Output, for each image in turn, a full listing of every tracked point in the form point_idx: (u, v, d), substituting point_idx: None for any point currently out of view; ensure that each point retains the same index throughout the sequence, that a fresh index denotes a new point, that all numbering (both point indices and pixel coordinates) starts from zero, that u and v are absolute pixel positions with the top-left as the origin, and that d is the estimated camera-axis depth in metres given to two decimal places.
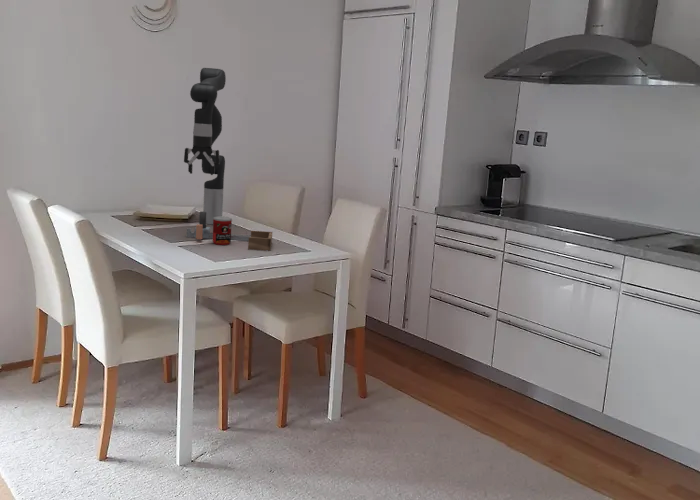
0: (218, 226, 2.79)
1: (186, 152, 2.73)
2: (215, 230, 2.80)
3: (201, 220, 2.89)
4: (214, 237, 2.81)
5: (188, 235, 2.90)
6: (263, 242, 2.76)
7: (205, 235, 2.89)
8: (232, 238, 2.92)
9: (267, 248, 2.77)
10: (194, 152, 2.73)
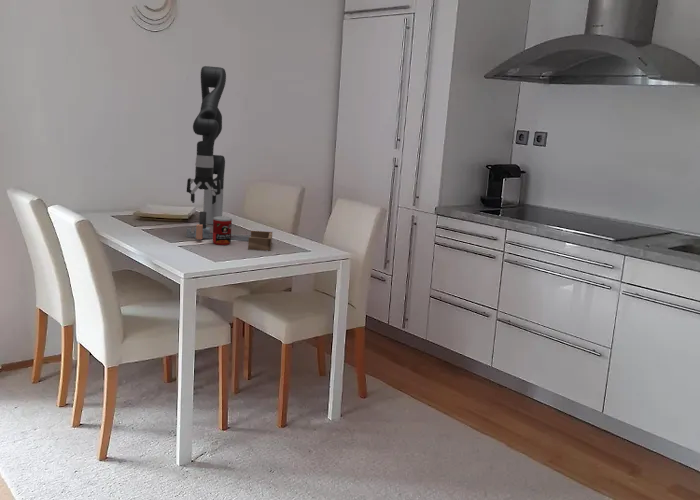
0: (218, 226, 2.79)
1: (189, 182, 2.85)
2: (215, 230, 2.80)
3: (201, 220, 2.89)
4: (214, 237, 2.81)
5: (188, 235, 2.90)
6: (263, 242, 2.76)
7: (205, 235, 2.89)
8: (232, 238, 2.92)
9: (267, 248, 2.77)
10: (196, 182, 2.85)
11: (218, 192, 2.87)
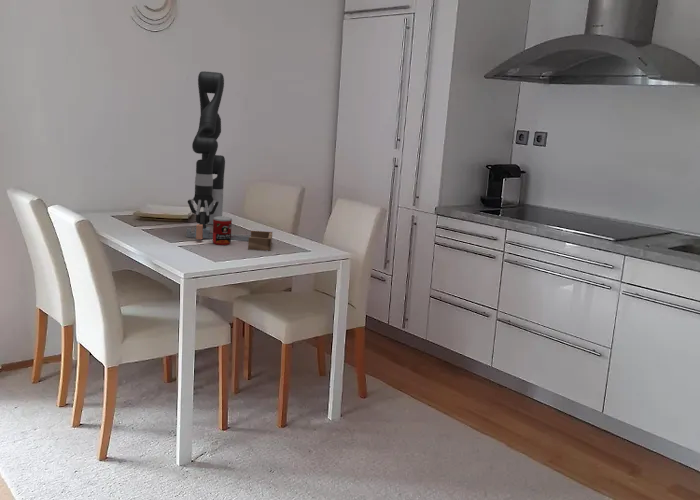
0: (218, 226, 2.79)
1: (190, 203, 2.87)
2: (215, 230, 2.80)
3: (201, 220, 2.89)
4: (214, 237, 2.81)
5: (188, 235, 2.90)
6: (263, 242, 2.76)
7: (205, 235, 2.89)
8: (232, 238, 2.92)
9: (267, 248, 2.77)
10: (196, 202, 2.87)
11: (212, 212, 2.89)
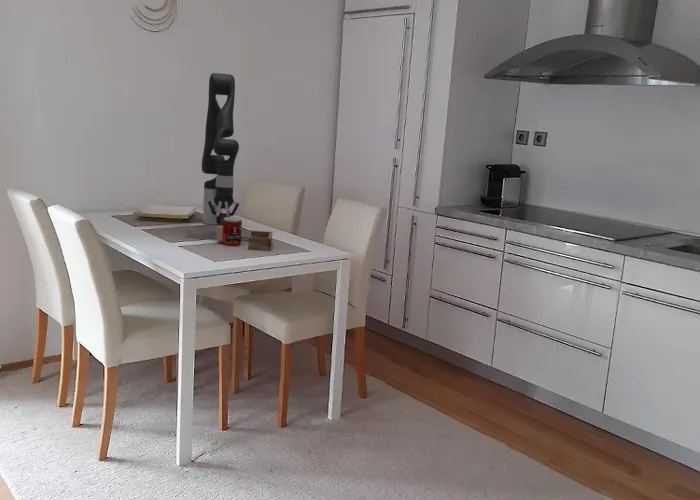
0: (228, 227, 2.79)
1: (210, 205, 2.88)
2: (225, 231, 2.80)
3: (221, 221, 2.90)
4: (224, 238, 2.81)
5: (188, 235, 2.90)
6: (263, 242, 2.76)
7: None
8: None
9: (267, 248, 2.77)
10: (217, 203, 2.88)
11: (232, 213, 2.89)
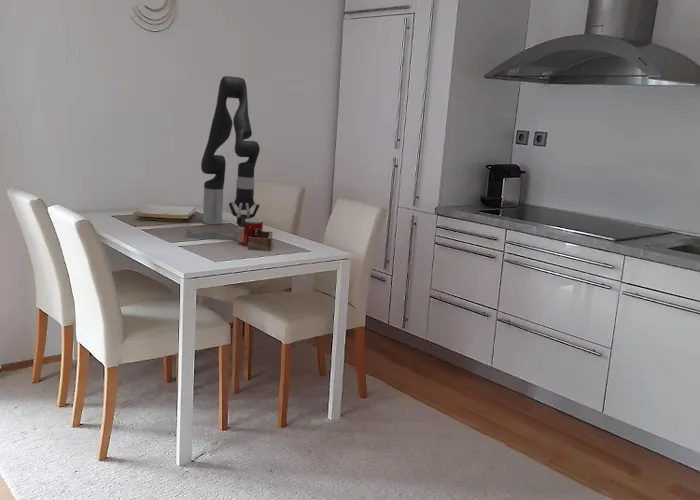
0: (249, 228, 2.80)
1: (231, 206, 2.89)
2: (246, 232, 2.81)
3: (242, 223, 2.90)
4: (245, 239, 2.82)
5: (188, 235, 2.90)
6: (263, 242, 2.76)
7: None
8: (232, 238, 2.92)
9: (267, 248, 2.77)
10: (237, 205, 2.89)
11: (253, 215, 2.90)
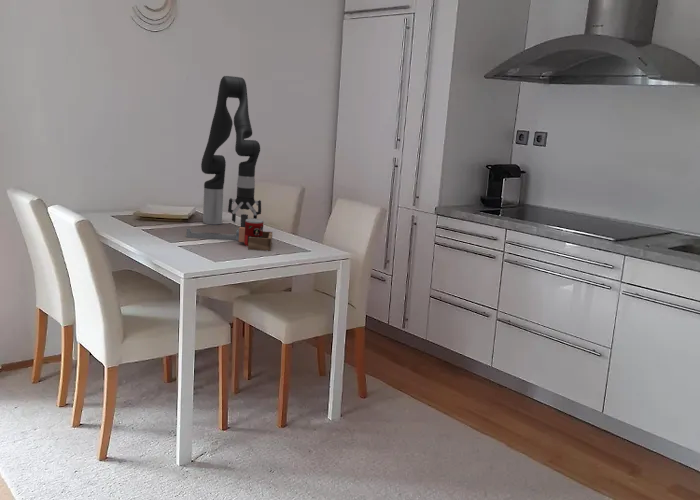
0: (250, 228, 2.80)
1: (230, 202, 2.88)
2: (247, 232, 2.81)
3: (243, 223, 2.90)
4: (246, 239, 2.82)
5: (188, 235, 2.90)
6: (263, 242, 2.76)
7: None
8: (232, 238, 2.92)
9: (267, 248, 2.77)
10: (238, 202, 2.89)
11: (259, 212, 2.90)
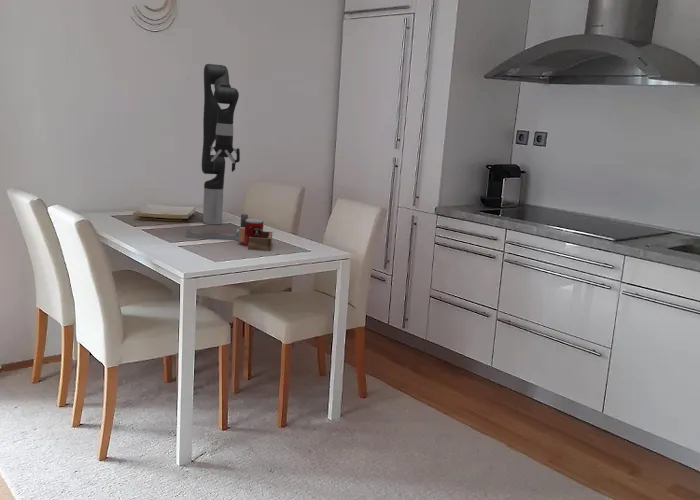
0: (250, 228, 2.80)
1: (209, 150, 2.91)
2: (247, 232, 2.81)
3: (243, 223, 2.90)
4: (246, 239, 2.82)
5: (188, 235, 2.90)
6: (263, 242, 2.76)
7: None
8: (232, 238, 2.92)
9: (267, 248, 2.77)
10: (216, 150, 2.91)
11: (237, 160, 2.93)
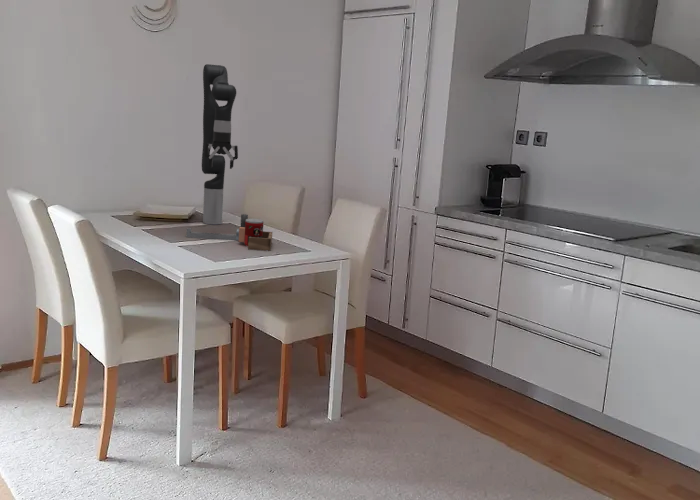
0: (250, 228, 2.80)
1: (207, 147, 2.91)
2: (247, 232, 2.81)
3: (243, 223, 2.90)
4: (246, 239, 2.82)
5: (188, 235, 2.90)
6: (263, 242, 2.76)
7: None
8: (232, 238, 2.92)
9: (267, 248, 2.77)
10: (214, 147, 2.92)
11: (236, 157, 2.93)
